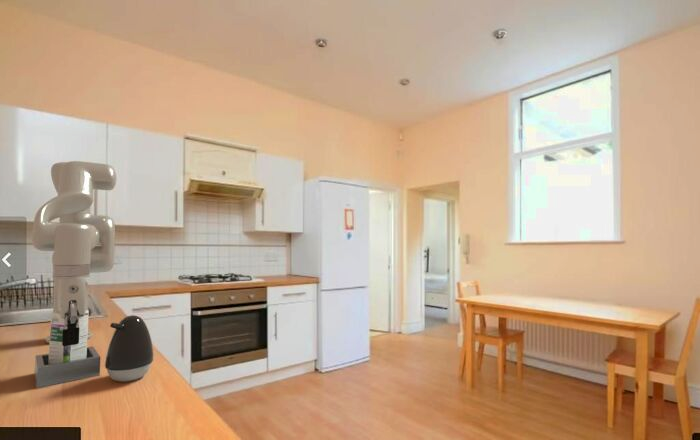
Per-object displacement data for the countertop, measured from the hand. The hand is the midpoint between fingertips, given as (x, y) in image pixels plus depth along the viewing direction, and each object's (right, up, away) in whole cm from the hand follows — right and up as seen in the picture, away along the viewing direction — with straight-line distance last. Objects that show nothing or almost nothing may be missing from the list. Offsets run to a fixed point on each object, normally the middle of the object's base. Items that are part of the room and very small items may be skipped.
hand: (68, 340), depth 92 cm
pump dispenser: (+17, -8, -3) cm, 19 cm away
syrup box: (0, -7, 0) cm, 7 cm away
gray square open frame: (0, -8, -1) cm, 8 cm away
